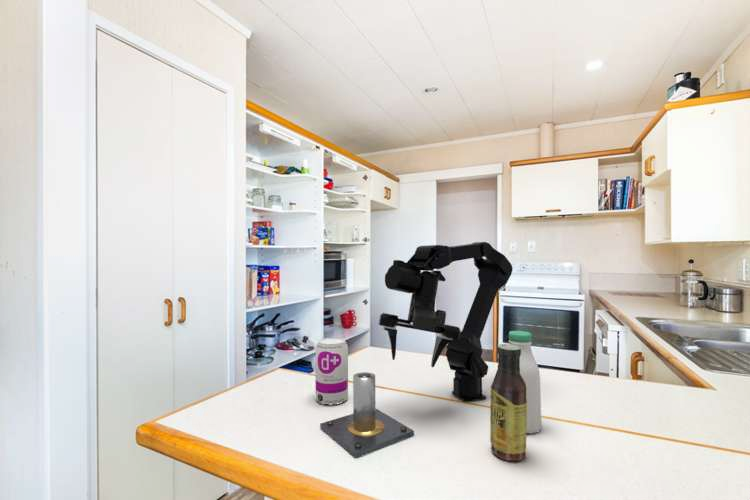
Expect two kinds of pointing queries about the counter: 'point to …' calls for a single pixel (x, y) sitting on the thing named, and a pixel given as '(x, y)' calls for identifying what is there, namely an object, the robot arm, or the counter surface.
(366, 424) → the sleeve
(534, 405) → the milk bottle
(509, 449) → the sauce bottle
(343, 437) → the flange plate
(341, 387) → the supplement can
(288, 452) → the counter surface
